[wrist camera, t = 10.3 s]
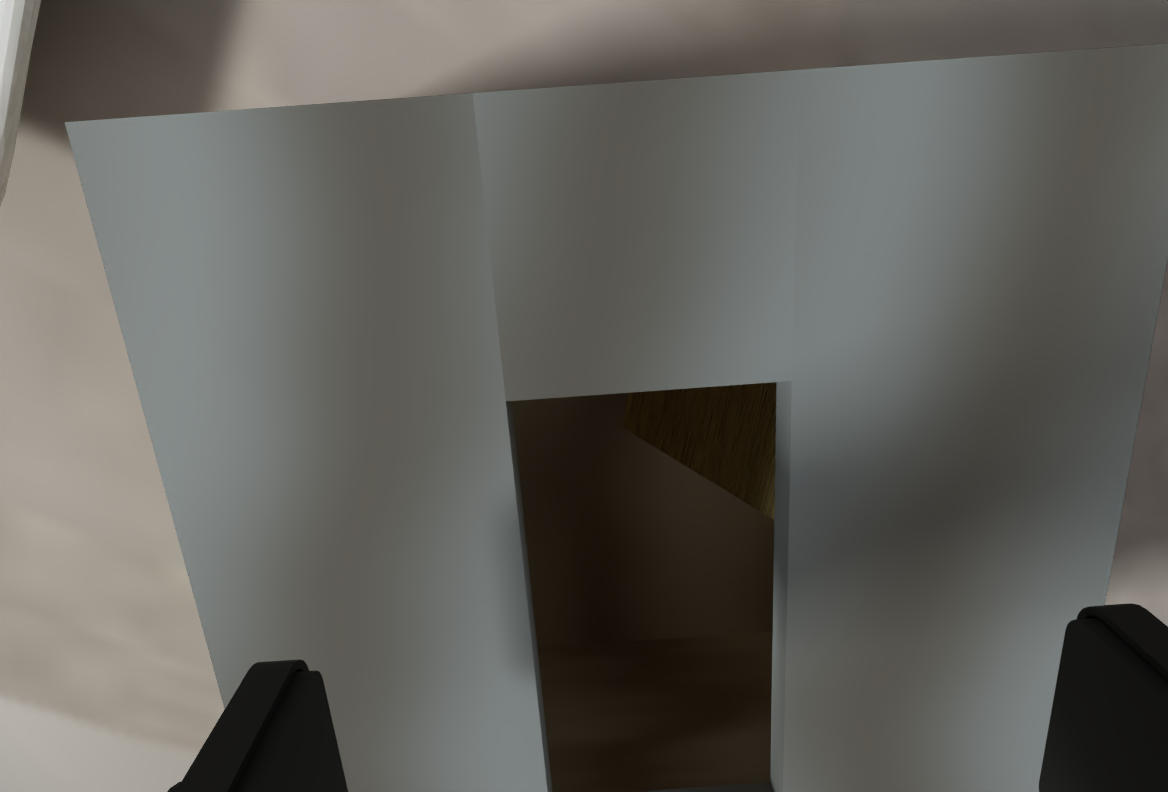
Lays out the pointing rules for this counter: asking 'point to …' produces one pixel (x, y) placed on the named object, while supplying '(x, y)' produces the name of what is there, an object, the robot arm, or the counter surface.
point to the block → (715, 435)
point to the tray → (13, 73)
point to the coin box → (651, 363)
